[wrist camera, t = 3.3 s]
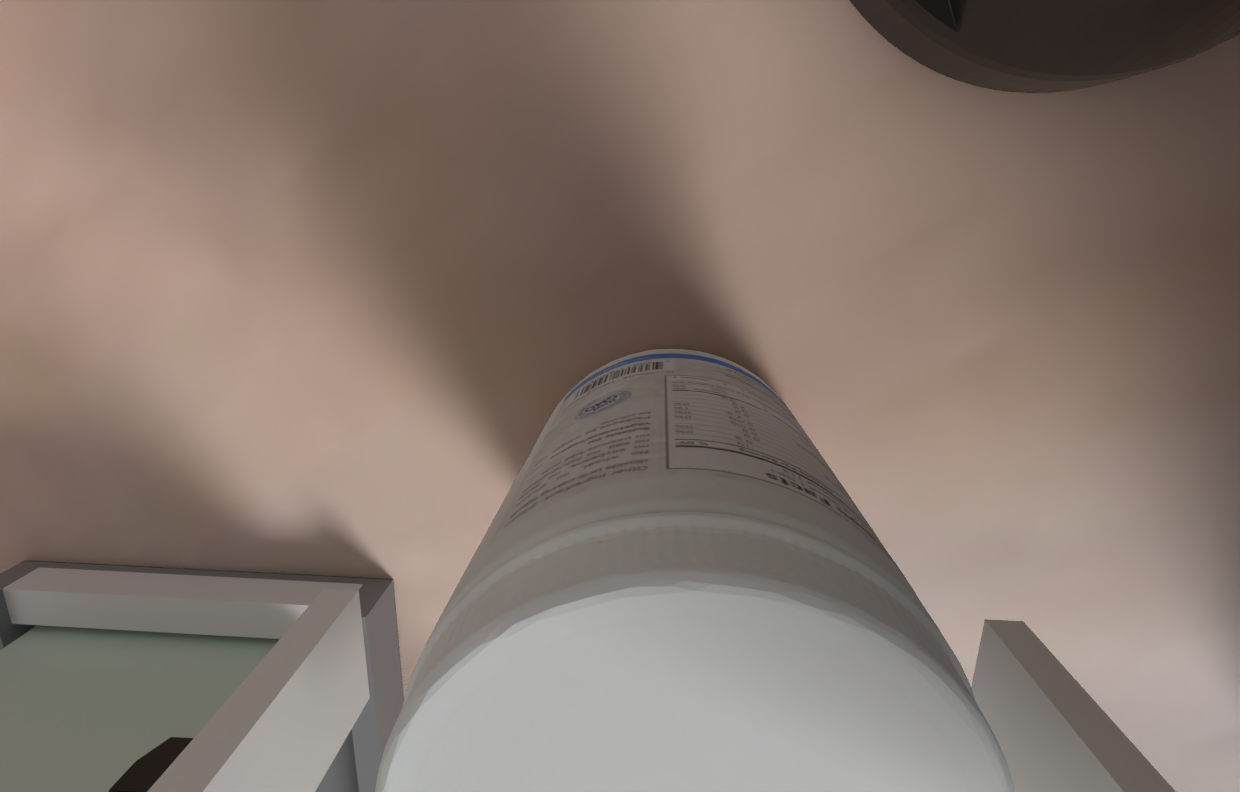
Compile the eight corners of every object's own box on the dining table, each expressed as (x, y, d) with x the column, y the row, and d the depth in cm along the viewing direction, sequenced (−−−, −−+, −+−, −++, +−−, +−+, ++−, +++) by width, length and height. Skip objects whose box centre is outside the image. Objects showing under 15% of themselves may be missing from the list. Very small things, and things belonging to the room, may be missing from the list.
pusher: (59, 610, 26) (-240, 811, 17) (353, 626, 25) (195, 844, 17) (67, 642, 26) (-220, 854, 18) (357, 659, 26) (204, 887, 17)
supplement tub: (722, 628, 25) (801, 1174, 11) (497, 522, 24) (270, 961, 10) (859, 413, 22) (1200, 771, 8) (610, 288, 22) (514, 445, 8)
